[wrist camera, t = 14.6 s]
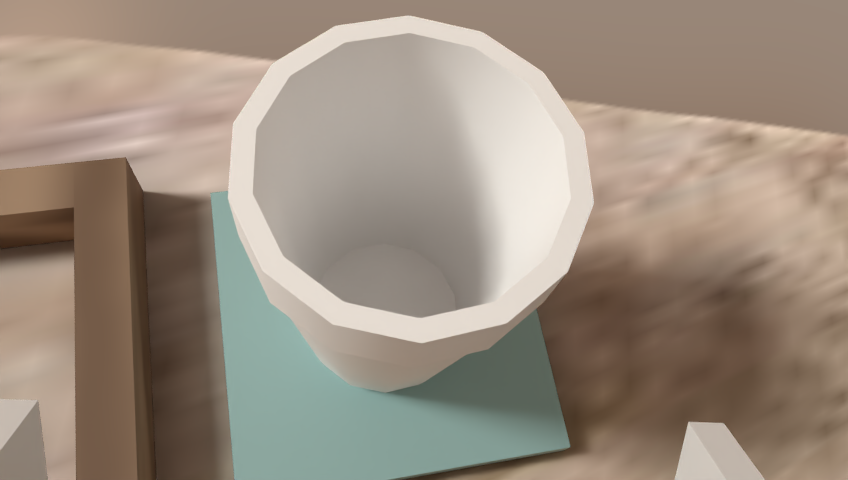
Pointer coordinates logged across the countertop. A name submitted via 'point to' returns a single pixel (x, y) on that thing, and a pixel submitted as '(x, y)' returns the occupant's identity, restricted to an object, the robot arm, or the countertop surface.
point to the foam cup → (406, 194)
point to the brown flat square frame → (96, 302)
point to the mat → (369, 396)
